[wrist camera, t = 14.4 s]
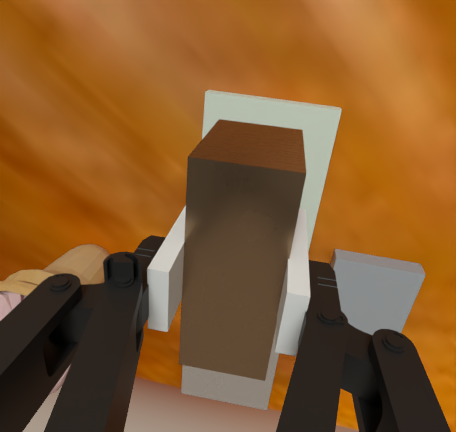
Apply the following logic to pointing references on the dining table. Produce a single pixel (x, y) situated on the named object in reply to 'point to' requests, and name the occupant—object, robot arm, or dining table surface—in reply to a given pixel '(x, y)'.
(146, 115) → the dining table surface
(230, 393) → the brown grey long block
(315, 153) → the board
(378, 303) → the tile
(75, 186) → the dining table surface
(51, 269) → the ice cream cone
